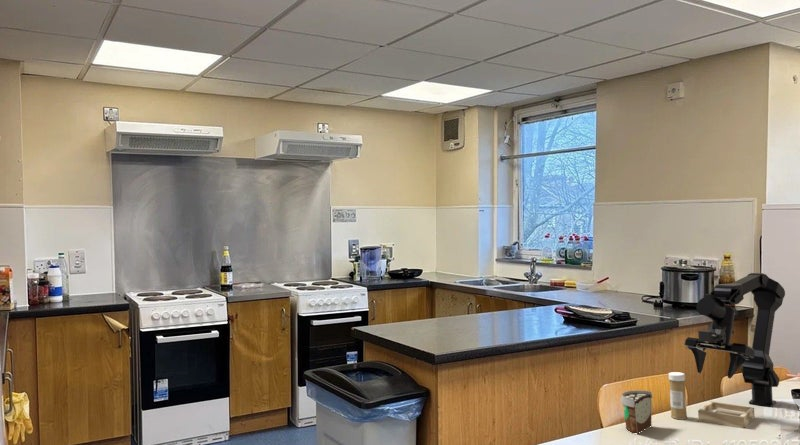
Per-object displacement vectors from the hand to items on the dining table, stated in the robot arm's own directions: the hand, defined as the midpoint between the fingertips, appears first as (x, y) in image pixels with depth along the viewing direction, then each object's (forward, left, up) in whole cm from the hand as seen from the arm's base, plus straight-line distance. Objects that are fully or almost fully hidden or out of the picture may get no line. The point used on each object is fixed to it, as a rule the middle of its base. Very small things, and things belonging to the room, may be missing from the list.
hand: (713, 375), depth 182 cm
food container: (+22, -16, -13) cm, 30 cm away
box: (-2, +2, -13) cm, 13 cm away
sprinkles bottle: (+4, -9, -13) cm, 17 cm away
